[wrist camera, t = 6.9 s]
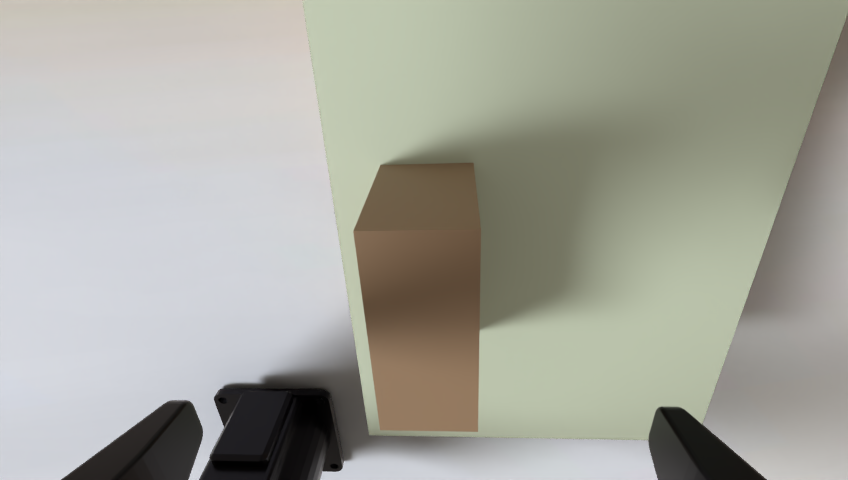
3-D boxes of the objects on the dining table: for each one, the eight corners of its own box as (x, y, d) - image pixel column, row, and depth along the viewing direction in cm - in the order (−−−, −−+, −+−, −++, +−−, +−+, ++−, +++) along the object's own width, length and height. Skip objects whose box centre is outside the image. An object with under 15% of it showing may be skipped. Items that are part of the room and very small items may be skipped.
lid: (686, 423, 18) (756, 553, 14) (372, 418, 19) (349, 540, 15) (895, -207, 9) (1256, -364, 5) (288, -160, 10) (173, -261, 6)
